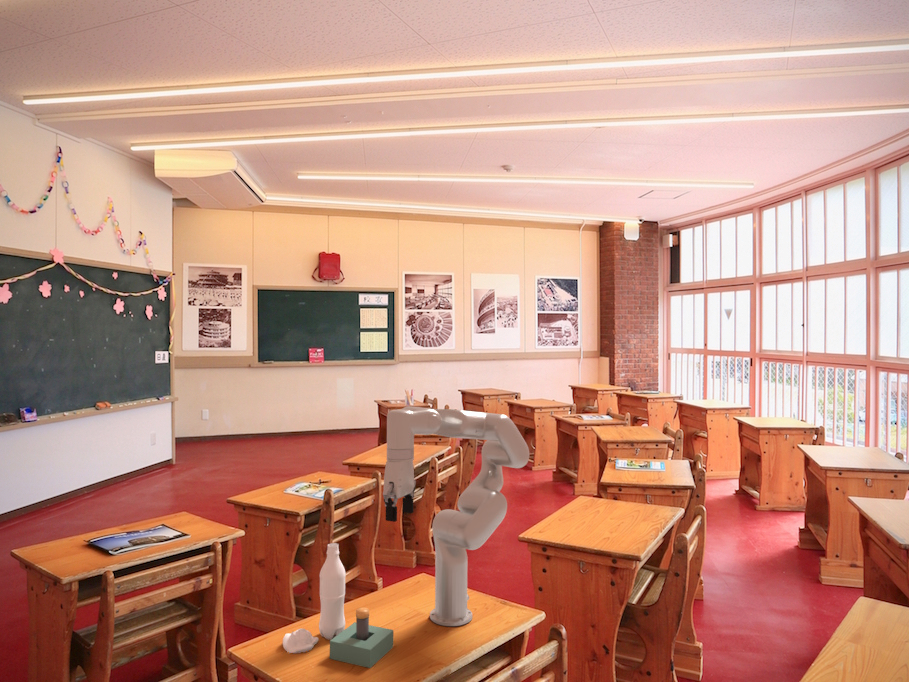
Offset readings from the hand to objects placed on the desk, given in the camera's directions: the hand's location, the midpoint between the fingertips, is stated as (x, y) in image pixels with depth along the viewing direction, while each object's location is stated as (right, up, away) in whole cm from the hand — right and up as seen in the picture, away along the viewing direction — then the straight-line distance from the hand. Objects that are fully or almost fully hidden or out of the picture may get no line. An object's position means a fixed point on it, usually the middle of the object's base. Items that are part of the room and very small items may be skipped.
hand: (399, 516), depth 169 cm
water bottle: (-19, -33, +1) cm, 38 cm away
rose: (-26, -34, -5) cm, 43 cm away
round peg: (-9, -33, -9) cm, 35 cm away
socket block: (-9, -33, -9) cm, 35 cm away
